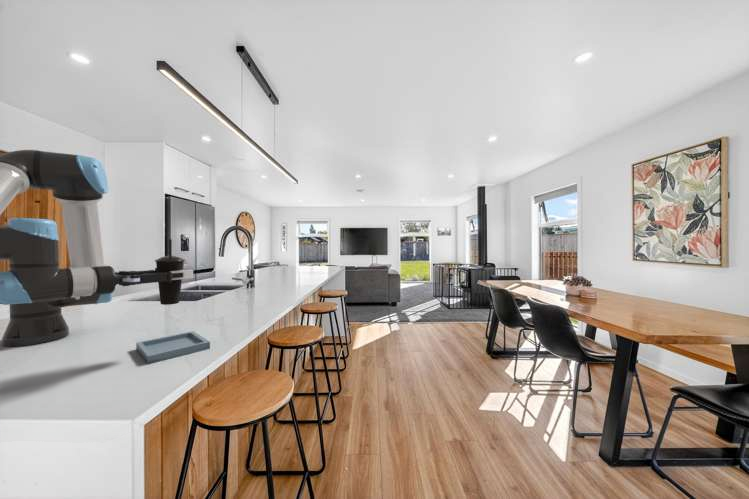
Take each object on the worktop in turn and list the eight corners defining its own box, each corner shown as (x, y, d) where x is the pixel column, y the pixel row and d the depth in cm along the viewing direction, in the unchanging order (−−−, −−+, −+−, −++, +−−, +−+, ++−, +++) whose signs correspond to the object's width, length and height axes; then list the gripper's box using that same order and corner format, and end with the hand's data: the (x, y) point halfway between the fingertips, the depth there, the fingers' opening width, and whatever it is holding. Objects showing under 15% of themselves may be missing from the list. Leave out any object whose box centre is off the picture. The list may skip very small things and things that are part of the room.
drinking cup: (169, 306, 87) (169, 239, 86) (148, 304, 89) (148, 239, 88) (190, 301, 95) (190, 239, 94) (171, 299, 96) (171, 239, 95)
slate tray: (136, 349, 92) (136, 342, 92) (193, 337, 104) (193, 331, 104) (148, 364, 82) (147, 356, 82) (210, 348, 94) (209, 341, 94)
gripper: (81, 291, 81) (174, 281, 101) (105, 299, 71) (202, 287, 91) (81, 264, 81) (173, 260, 101) (104, 269, 71) (202, 263, 91)
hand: (187, 273), depth 96 cm, fingers closed on drinking cup, 6 cm apart
